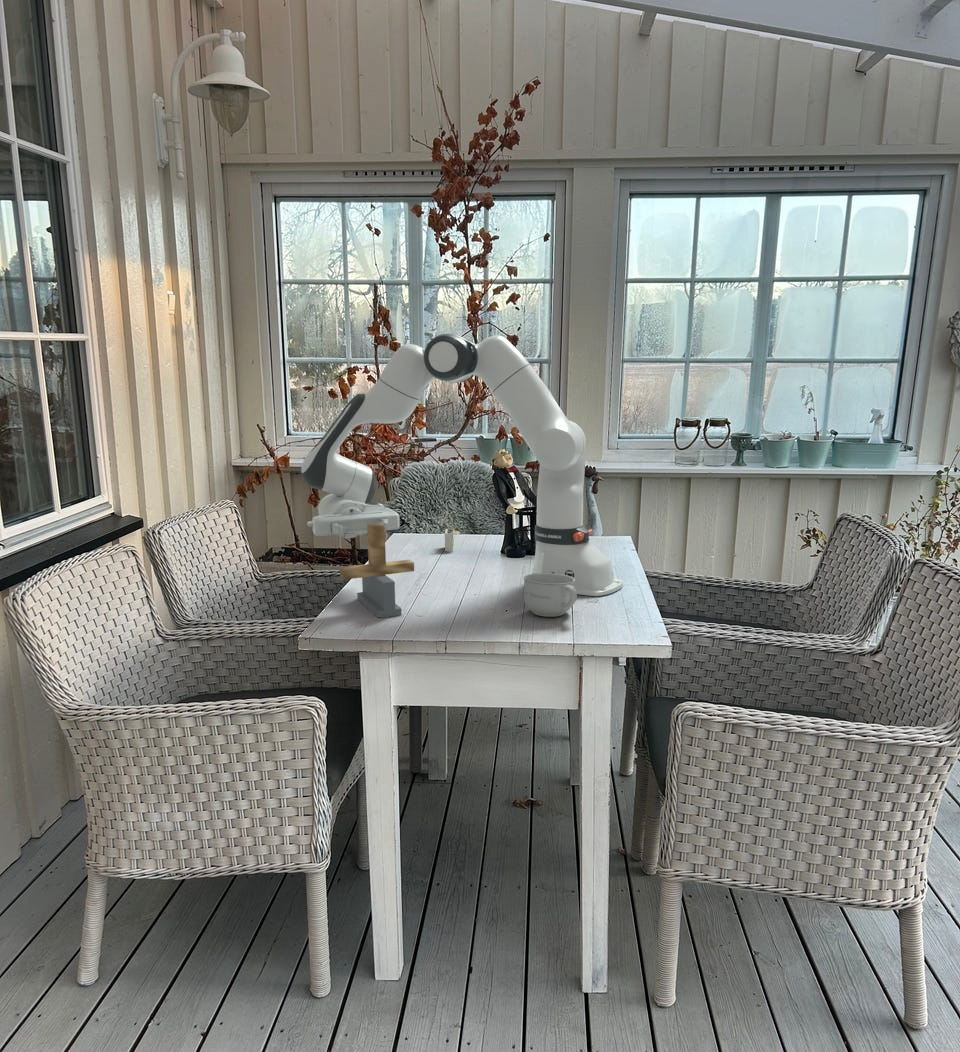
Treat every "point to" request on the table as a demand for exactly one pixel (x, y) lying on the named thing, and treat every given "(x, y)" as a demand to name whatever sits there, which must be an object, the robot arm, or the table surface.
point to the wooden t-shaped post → (376, 558)
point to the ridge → (379, 595)
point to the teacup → (549, 593)
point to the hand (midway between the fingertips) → (365, 529)
